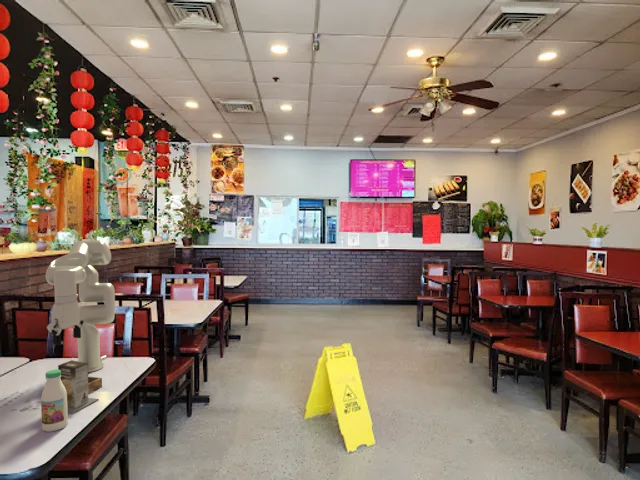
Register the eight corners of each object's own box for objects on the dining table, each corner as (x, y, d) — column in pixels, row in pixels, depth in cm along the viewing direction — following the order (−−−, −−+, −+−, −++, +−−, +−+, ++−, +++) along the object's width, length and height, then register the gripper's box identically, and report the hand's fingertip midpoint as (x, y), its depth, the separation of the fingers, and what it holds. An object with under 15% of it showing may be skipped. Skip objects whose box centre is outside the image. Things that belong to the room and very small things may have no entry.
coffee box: (58, 405, 161) (56, 365, 161) (72, 398, 167) (71, 360, 167) (75, 408, 158) (74, 367, 158) (89, 401, 164) (88, 362, 164)
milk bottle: (49, 422, 149) (48, 368, 148) (72, 421, 149) (70, 367, 148) (37, 433, 141) (35, 375, 140) (60, 432, 142) (58, 375, 141)
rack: (77, 384, 184) (76, 375, 184) (102, 386, 181) (101, 377, 181) (57, 393, 174) (56, 384, 174) (83, 396, 171) (82, 386, 171)
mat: (74, 397, 170) (74, 396, 170) (98, 400, 167) (98, 398, 167) (48, 410, 158) (48, 408, 158) (73, 413, 155) (73, 412, 155)
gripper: (75, 294, 174) (77, 334, 175) (39, 303, 157) (40, 347, 158) (90, 295, 172) (91, 335, 173) (55, 304, 156) (56, 348, 157)
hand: (67, 341), depth 166 cm, fingers open, 9 cm apart
